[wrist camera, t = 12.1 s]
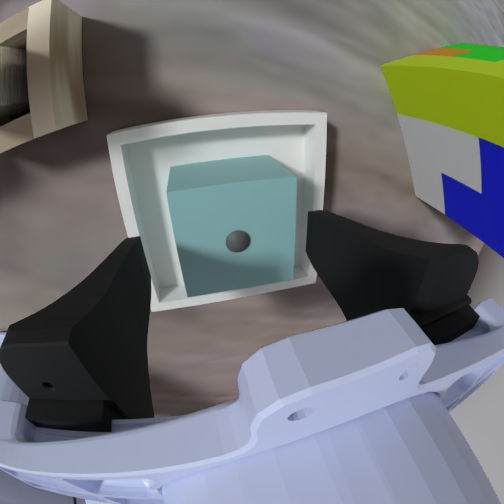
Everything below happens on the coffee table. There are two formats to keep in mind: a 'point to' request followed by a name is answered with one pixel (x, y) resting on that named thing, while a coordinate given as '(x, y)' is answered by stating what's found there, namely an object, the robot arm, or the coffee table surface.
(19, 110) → the brushed steel block
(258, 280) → the teal block
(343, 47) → the coffee table surface
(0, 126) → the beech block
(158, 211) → the tray
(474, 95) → the puzzle toy
